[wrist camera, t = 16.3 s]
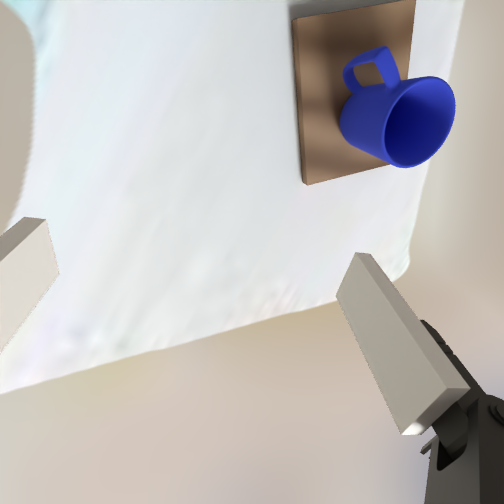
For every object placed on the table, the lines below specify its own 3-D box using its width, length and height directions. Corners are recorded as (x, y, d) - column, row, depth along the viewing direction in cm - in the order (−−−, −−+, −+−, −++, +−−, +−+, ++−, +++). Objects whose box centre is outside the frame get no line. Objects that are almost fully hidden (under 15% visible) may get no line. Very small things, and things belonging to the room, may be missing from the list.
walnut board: (291, 21, 31) (297, 18, 29) (406, 1, 33) (416, -2, 31) (302, 182, 40) (307, 185, 39) (391, 160, 42) (398, 162, 41)
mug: (358, 29, 31) (429, 8, 23) (398, 119, 38) (465, 128, 29) (302, 86, 33) (349, 85, 24) (349, 163, 39) (400, 184, 31)
